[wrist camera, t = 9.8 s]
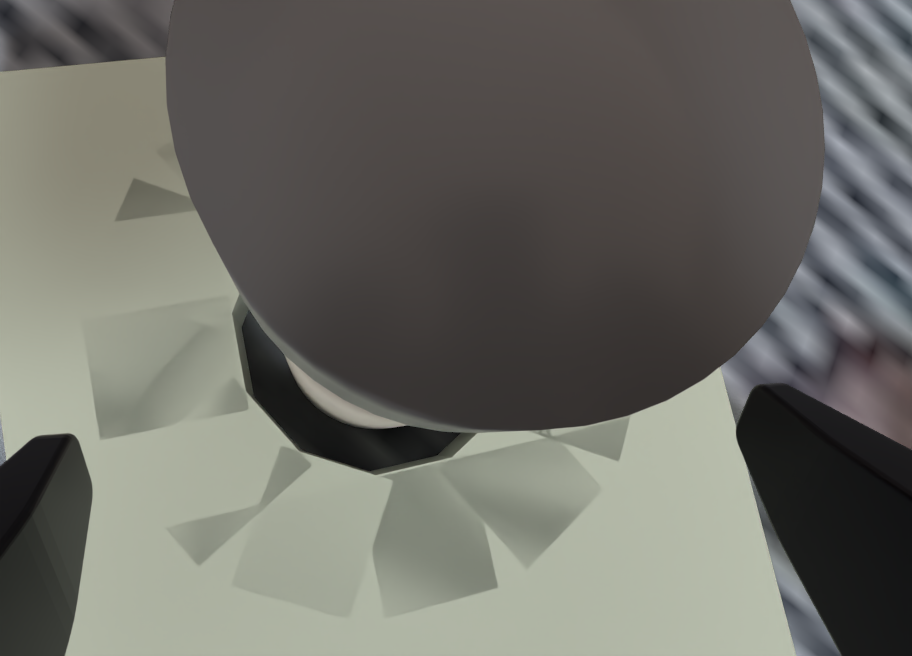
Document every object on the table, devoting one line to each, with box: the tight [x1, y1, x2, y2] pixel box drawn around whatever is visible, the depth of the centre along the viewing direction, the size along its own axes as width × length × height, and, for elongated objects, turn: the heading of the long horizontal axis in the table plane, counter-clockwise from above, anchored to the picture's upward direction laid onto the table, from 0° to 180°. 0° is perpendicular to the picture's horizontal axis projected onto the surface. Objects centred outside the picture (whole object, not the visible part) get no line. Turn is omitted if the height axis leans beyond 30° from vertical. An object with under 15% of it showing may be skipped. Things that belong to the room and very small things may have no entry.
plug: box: [165, 0, 825, 433], centre depth 11 cm, size 5×5×13 cm
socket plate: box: [0, 57, 796, 656], centre depth 16 cm, size 19×16×2 cm
